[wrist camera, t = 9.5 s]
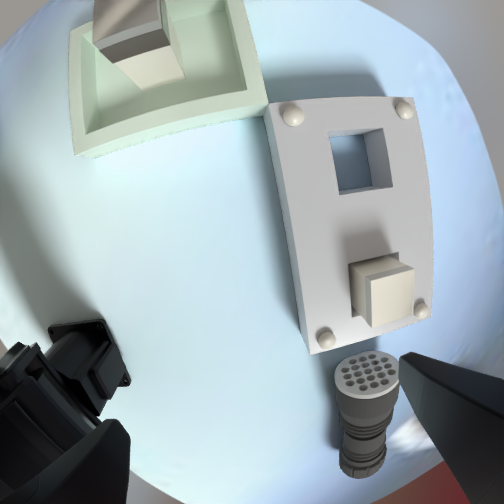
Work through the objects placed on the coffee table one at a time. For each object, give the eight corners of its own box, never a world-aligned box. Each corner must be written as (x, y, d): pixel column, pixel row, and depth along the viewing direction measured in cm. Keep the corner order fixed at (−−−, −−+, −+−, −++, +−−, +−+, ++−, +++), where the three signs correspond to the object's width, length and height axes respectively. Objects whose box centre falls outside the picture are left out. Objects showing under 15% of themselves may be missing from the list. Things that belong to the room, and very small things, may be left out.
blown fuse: (142, 92, 16) (91, 44, 8) (138, 56, 15) (94, -1, 7) (187, 80, 16) (159, 20, 8) (181, 44, 15) (155, -23, 7)
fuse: (341, 294, 21) (371, 328, 15) (337, 256, 20) (370, 280, 15) (376, 285, 21) (413, 314, 15) (374, 248, 20) (414, 268, 15)
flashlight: (375, 441, 26) (391, 472, 21) (333, 455, 26) (345, 489, 21) (383, 343, 22) (413, 378, 17) (326, 362, 22) (347, 403, 17)
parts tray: (95, 158, 17) (74, 155, 14) (87, 46, 15) (70, 31, 12) (263, 115, 17) (268, 103, 14) (236, 3, 15) (237, -19, 12)
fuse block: (300, 334, 21) (311, 358, 18) (263, 115, 17) (269, 101, 14) (411, 302, 21) (433, 318, 18) (392, 106, 18) (416, 96, 14)
